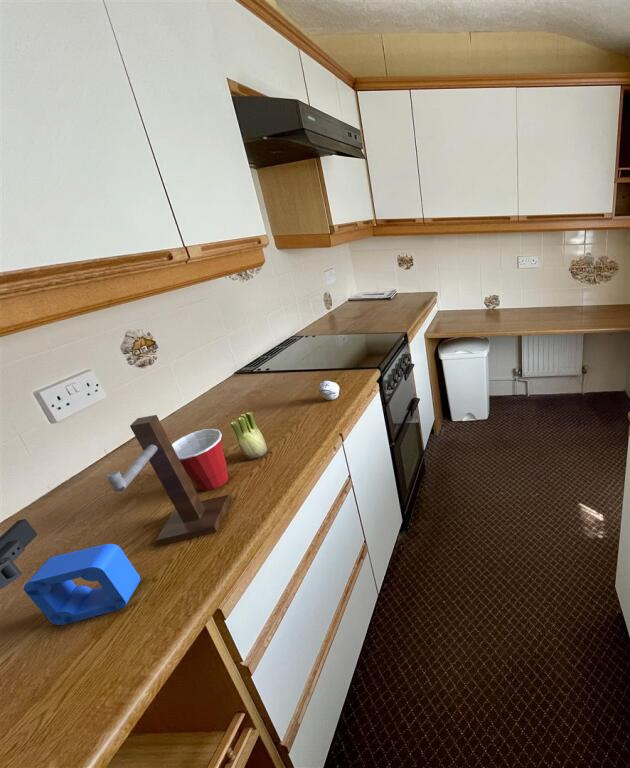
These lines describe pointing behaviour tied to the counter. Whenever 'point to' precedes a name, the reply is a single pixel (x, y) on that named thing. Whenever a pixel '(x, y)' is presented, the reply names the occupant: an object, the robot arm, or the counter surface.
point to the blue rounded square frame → (80, 602)
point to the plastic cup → (203, 458)
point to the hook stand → (171, 485)
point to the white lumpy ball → (329, 390)
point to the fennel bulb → (249, 437)
